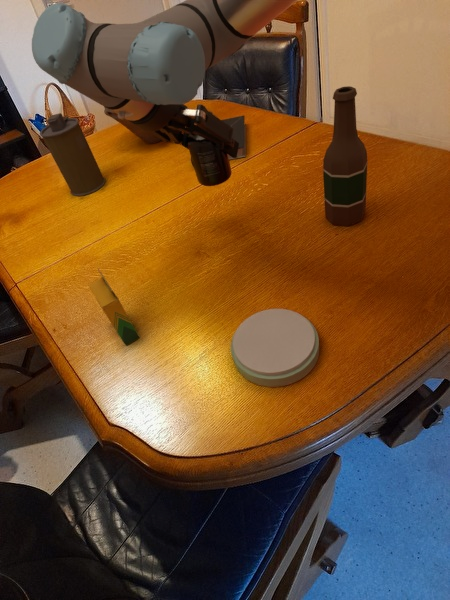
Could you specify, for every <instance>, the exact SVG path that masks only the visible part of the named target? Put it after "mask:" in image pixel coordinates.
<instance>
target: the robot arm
mask: <svg viewBox="0 0 450 600" xmlns="http://www.w3.org/2000/svg"><path fill="white" fill-rule="evenodd" d="M297 1H299V0H184V1H182V2H180V3H177V4H175V5H173V6H171V7H169V8H167V9H165V10H163V11H161V12H159V13H156V14H155V15H152V16H150V17H148V18H146V19H144V20H141V21H138V22H134V23H110V22H109V23H108V22H106V23H105V22H104V23H103V22H101V23H100V22H98V23H96V22H93V21H90V20H89V19H88V18H87V17H86V16H85V14H83V12H81V11H77V10H76V9H74V8H73V7H71V6H70V5H68V4H67V3H63V2H56V3H53V4H51V5H49V6H48V7H47V8H45V9H44V10H43V11H42V12H41V14H40V15H39V17H38V19H37V20H36V23H35V25H34V27H33V34H32V37H31V52H32V57H33V59H34V62H35V63H36V64H37V66H38V68H39V69H41V71H44V73H46V74H48V75H49V76H51V77H52V78H54V79H55V80H56V81H58V83H59V84H61V85H66V86H67V87H69V88H70V89H72V90H74V91H76V92H78V93H79V94H81V95H83V96H84V97H86V98H88V99H90V100H91V101H93V102H95V103H97V104H99V105H101V106H103V107H106V108H108V109H109V110H111V111H113V112H115V113H116V114H118V118H119V119H122V120H123V119H124V118H125V119H127V120H129V121H130V122H131V123H133V124H135V125H136V126H138V127H140V128H142V129H143V130H145V131H149V132H151V133H152V134H154V135H155V136H157V137H158V138H160V139H161V140H162V141H163V142H164V143H166V144H171V142H173V144H175V145H181V146H182V147H184V148H185V149H187V150H189V148H188V144H187V137H188V135H189V133H194V134H196V135H198V136H201V137H203V138H205V139H207V140H210V141H212V142H214V143H216V147H218V148H217V149H221V150H222V151H224V152H225V153H227V154H228V155H230V156H231V157H232V158H237V153H238V147H239V143H238V142H237V141H235V140H234V139H233V138H232V135H233V130H234V129H233V128H232V127H231V126H229V125H228V124H226V123H225V122H223V121H222V120H223V119H221V118H219V117H218V116H216V115H215V114H214V113H213V112H212V113H213V114H212V113H210V112H209V111H210V110H208V108H207V107H206V106H205V105H203V104H201V103H200V104H196V108H195V109H191V108H189V107H188V106H187V105H185V104H187V103H189V102H191V101H192V100H193V99H195V97H196V96H197V95H198V90H199V88H201V86H203V83H204V79H205V74H206V72H207V71H208V70H209V69H210V68H212V67H213V66H216V65H217V64H218V63H220V62H222V61H223V60H225V59H227V58H229V57H231V56H233V55H234V54H236V53H237V52H238V51H240V50H241V49H242V48H244V46H245V45H246V44H247V43H248V42H249V41H250V40H251V39H252V38H253V37H254V36H255V35H256V34H257V33H258V32H260V31H261V30H262V29H264V28H265V27H266V26H268V24H270V23H271V22H272V21H274V20H275V19H276V18H277V17H279V16H280V15H281V14H283V13H284V12H285V11H286V10H288V9H289V8H290V7H292V6H293V5H294V4H295V3H296V2H297Z"/></svg>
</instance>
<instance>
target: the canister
mask: <svg viewBox="0 0 450 600" xmlns="http://www.w3.org/2000/svg"><path fill="white" fill-rule="evenodd" d="M46 122H47V124H48V125H46V126H45V127H43V128H42V129H41V130H40V131H39V136H40V137H42V140H43V141H44V144H45V145H46V147H47V149H48V151H49V152H50V155H51V156H52V159H53V160H54V162H55V164H56V167H58V170H59V172H60V173H61V175H62V177H63V179H64V181H65V183H66V185H67V186H68V189H69V190H70V194H71V195H72V196H75V197H83V196H87V195H91V194H93V193H95V192H96V191H98V190H100V189H101V188H103V186H104V185H105V184H106V178H105V177H104V175H103V173H102V170H101V169H100V167H99V165H98V162H97V160H96V158H95V156H94V153H93V152H92V149H91V147H90V145H89V142H88V140H87V138H86V136H85V134H84V132H83V129H82V127H81V125H80V121H79V119H78V118H76V117H69V116H63V114H62V113H61V112H60V113H55V114H51V115H49V117H48V119H46Z"/></svg>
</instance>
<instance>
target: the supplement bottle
mask: <svg viewBox="0 0 450 600" xmlns="http://www.w3.org/2000/svg"><path fill="white" fill-rule="evenodd" d="M208 111H209V112H210V113H212V114H213V115H214V113H213V112H212V111H210V110H208ZM187 144H188V148H189V149H188V151H189V154H190V159H191V158H192V162H193V165H194V166H193V165H192V166H193V168H194V172H195V176H196V180H197V182H198V184H200V185H201V186H203V187H215V186H219V185H222V184H224V183H226V182H228V180H229V179H230V178H231V176H232V168H231V167H232V166H231V163H230V160H229V157H228V154H227V153H225V152H224V151H222V150H221V149H217V148H218V147H216V143H214V142H212V141H210V140H207V139H205V138H203V137H201V136H198V135H196V134H194V133H189V135H188V137H187Z"/></svg>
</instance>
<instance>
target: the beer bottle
mask: <svg viewBox="0 0 450 600" xmlns="http://www.w3.org/2000/svg"><path fill="white" fill-rule="evenodd" d="M357 95H358V92H357V89H356V88H355V87H353V86H349V85H348V86H341V87H338V88H336V89H335V91H334V92H333V96H332V100H334V109H333V133H332V138H331V142H330V144H329V145H328V147H327V148H326V150H325V153H324V157H323V163H322V164H323V166H322V177H323V196H324V200H323V201H324V213H325V215H324V216H325V218H326V219H327V220H328V222H330V223H331V224H332V225H333V226H342V227H351V226H353V225H355V224H357V223H360V222H362V220H363V218H364V216H365V212H366V207H367V183H368V182H367V181H368V180H367V179H368V151H367V149H366V146H365V143H364V142H363V141H362V140H361V138H360V137H359V135H358V129H357V112H356V111H357V110H356V109H357V108H356V97H357Z"/></svg>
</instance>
